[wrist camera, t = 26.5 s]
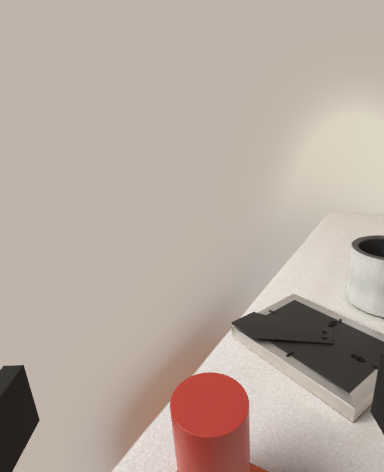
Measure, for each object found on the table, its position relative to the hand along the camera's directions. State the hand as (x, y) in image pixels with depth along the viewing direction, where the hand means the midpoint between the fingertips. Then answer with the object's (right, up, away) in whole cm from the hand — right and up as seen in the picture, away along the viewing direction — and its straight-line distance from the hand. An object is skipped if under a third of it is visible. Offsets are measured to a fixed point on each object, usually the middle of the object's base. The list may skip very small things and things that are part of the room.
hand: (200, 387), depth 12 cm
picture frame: (+19, -12, +37) cm, 43 cm away
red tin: (+2, -19, +18) cm, 26 cm away
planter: (+35, -7, +48) cm, 60 cm away
